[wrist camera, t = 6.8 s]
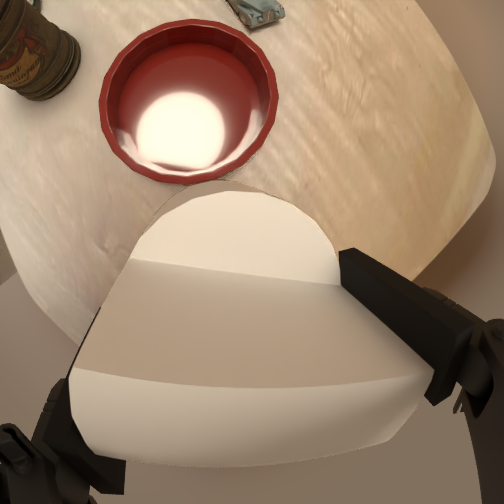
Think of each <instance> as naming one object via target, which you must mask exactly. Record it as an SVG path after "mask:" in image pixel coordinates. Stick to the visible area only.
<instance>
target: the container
mask: <svg viewBox="0 0 504 504" xmlns="http://www.w3.org/2000/svg"><path fill="white" fill-rule="evenodd" d="M79 60H80V48H79V45H78V42H77V41H76V39H75V38H74V37H73V36H71V35H70V34H69V33H67V32H66V31H63V30H60V29H59V28H58V26H56V25H55V24H53V23H51V22H49V21H48V20H47V19H46V18H45V17H44V16H43V15H42V14H41V13H40V12H39V11H37V9H36V8H35V7H33V6H32V5H31V4H30V3H29V2H28V1H27V0H0V83H1V84H4V85H6V86H7V87H8V88H10V89H12V90H16V91H17V93H19V94H20V95H22V96H24V97H25V98H27V99H30V100H34V101H38V100H44V99H47V98H50V97H52V96H54V95H55V94H57V93H59V92H60V91H61V90H62V89H63V88H64V87H65V86H66V85H67V84H68V83H69V82H70V80H71V79H72V77H73V76H74V74H75V72H76V70H77V68H78V65H79Z"/></svg>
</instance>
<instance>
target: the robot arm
mask: <svg viewBox="0 0 504 504" xmlns="http://www.w3.org/2000/svg"><path fill="white" fill-rule="evenodd" d="M339 267H340V281H341V286H342V287H343V288H344V289H345V290H347V291H348V292H349V293H350V294H351V295H352V296H353V297H355V298H356V299H357V300H358V301H359V302H360V303H361V304H363V305H364V306H365V307H366V308H367V309H368V310H369V311H370V312H372V313H373V314H374V315H375V316H376V317H377V318H378V319H379V320H381V321H382V322H383V323H384V324H385V325H386V326H387V327H388V328H389V329H390V330H392V331H393V332H394V333H395V334H396V335H397V336H398V337H399V338H400V339H401V340H403V341H404V342H405V343H406V344H407V345H408V346H409V347H410V348H411V349H412V350H413V351H415V352H416V353H417V354H418V355H419V356H420V357H421V358H422V359H423V360H424V361H425V362H426V363H427V364H428V365H430V366H431V367H432V368H433V369H434V374H433V377H432V380H431V382H430V384H429V386H428V388H427V390H426V392H425V394H424V396H425V397H426V399H428V400H429V402H430V403H431V404H432V405H433V406H435V405H437V404H438V403H440V402H441V401H443V400H444V399H446V398H447V397H449V396H450V395H451V394H452V391H453V389H454V386H455V384H456V381H457V382H458V383H459V384H460V385H461V386H462V389H461V392H460V394H459V396H458V398H457V401H456V403H455V405H454V408H453V413H454V414H455V413H457V410H458V409H459V407H460V404H461V403H462V407H461V410H460V412H464V413H465V416H466V420H467V424H468V428H469V432H470V436H471V441H472V445H473V449H474V454H475V459H476V465H477V470H478V476H479V483H480V490H481V498H482V504H504V319H492V320H489V321H488V322H485V321H483V320H482V319H480V318H479V317H477V316H476V315H474V314H473V313H471V312H469V311H468V310H466V309H465V308H463V307H462V306H460V305H459V304H457V305H456V303H455V302H454V301H452V300H451V299H448V298H447V297H446V296H444V295H443V294H441V293H440V292H438V291H435V290H432V289H429V288H426V287H423V288H421V287H419V286H417V285H416V284H414V283H413V282H411V281H409V280H408V279H406V278H405V277H403V276H401V275H400V274H398V273H396V272H395V271H393V270H392V269H390V268H388V267H387V266H385V265H383V264H382V263H380V262H378V261H376V260H375V259H373V258H371V257H370V256H368V255H366V254H365V253H363V252H361V251H359V250H358V249H356V248H350V249H346V250H342V251H339ZM100 309H101V307H100V308H99V310H98V312H97V313H96V315H95V317H94V319H93V321H92V323H91V325H90V327H89V329H88V331H87V333H86V335H85V337H84V339H83V341H82V343H81V345H80V347H79V350H78V352H77V354H76V356H75V358H74V360H73V362H72V365H71V367H70V369H69V371H68V374H67V376H66V378H63V379H60V380H59V381H58V382H57V383H56V384H55V386H54V387H53V388H52V389H51V391H50V394H49V396H48V398H47V403H45V406H44V408H43V412H42V413H41V415H40V418H39V420H38V423H37V426H36V428H35V431H34V433H33V437H32V439H31V441H30V440H29V439H28V438H27V437H26V436H25V435H24V434H23V433H22V432H21V430H20V429H19V428H18V427H17V426H16V425H14V424H11V423H7V424H2V425H1V426H0V462H1V463H2V464H0V504H97V502H96V501H95V499H94V498H93V497H92V496H91V495H89V490H90V485H91V486H92V487H93V488H95V489H96V490H97V491H99V492H100V493H101V494H116V495H124V483H125V468H126V460H122V459H116V458H111V457H106V456H101V455H96V454H95V453H94V452H93V451H92V450H91V449H90V448H89V447H88V446H87V444H86V443H85V441H84V439H83V437H82V435H81V433H80V431H79V429H78V427H77V425H76V423H75V421H74V419H73V417H72V413H71V404H70V392H69V376H70V373H71V370H72V367H73V365H74V363H75V360H76V358H77V356H78V354H79V352H80V349H81V347H82V345H83V343H84V341H85V339H86V337H87V335H88V333H89V331H90V329H91V327H92V325H93V323H94V321H95V319H96V317H97V315H98V313H99V311H100Z"/></svg>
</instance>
